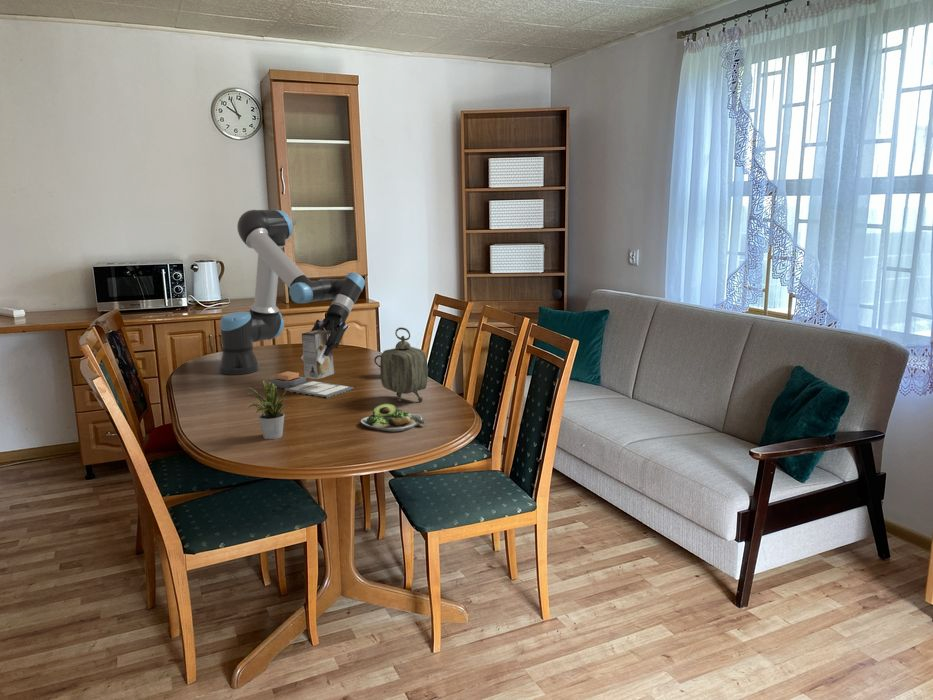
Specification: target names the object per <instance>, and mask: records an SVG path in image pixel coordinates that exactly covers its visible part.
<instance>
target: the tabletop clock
mask: <svg viewBox="0 0 933 700" xmlns="http://www.w3.org/2000/svg"><path fill="white" fill-rule="evenodd" d="M399 330H400V331H401V330H404V331H406V332H407V334H408V337H407V338H406V337H405V336H404V335H402V336H401V337H400V336H399V335H398V331H399ZM395 337H396V338H397V339H398V340H400V341H398V342H397V343H396V345H395V347H394V348H390V349H385V350H383V351H384V352H382V353H381V354H380V355H381V357H380V362H379V363H380V364H379V365H380V367H379V369H380V380H381V381H380V382H381V385H382V387H383V388H384V389H386V390H389V391H392V392H394V393H396V396H397V399H396V402H398V403H402V400H403V398H402V394H406V395H407V394H411V393H413V394H415V396H416V397H417V398H418V402H420V403H421V402H423V400H424V398H423V397H422V396H420V394H419V393H418V391H422V390H425V389H426V388H427V385H428V377H429V376H428V375H429V374H428V373H429V367H428V358H427V354H426V352H425V351H424V350H422V349H420V348H417V347H413V346H411V344H410V343H409V341H408V340H409V339H410V338H411V332H410V330H409V329H408V328H406V327H398V328H396V329H395Z"/></svg>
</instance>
